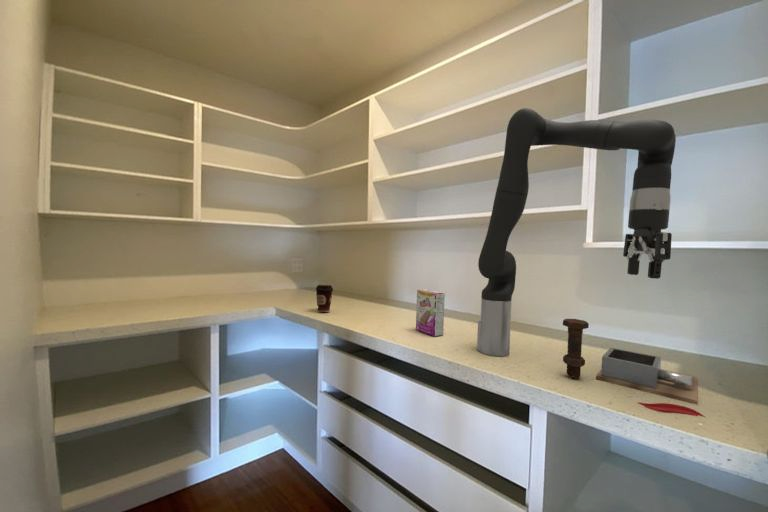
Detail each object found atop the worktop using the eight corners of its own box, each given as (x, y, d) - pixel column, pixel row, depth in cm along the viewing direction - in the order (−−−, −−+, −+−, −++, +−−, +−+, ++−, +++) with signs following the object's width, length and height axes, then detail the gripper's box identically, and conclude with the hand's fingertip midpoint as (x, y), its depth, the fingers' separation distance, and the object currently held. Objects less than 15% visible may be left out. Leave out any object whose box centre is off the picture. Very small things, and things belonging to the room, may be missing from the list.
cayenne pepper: (634, 407, 71) (634, 398, 71) (635, 400, 74) (635, 391, 74) (712, 427, 63) (712, 418, 63) (709, 418, 66) (709, 409, 66)
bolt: (585, 376, 86) (587, 320, 86) (587, 383, 82) (589, 323, 82) (560, 372, 89) (562, 317, 89) (560, 378, 85) (563, 320, 84)
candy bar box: (414, 330, 130) (416, 289, 130) (424, 329, 133) (425, 289, 133) (434, 337, 121) (435, 293, 121) (443, 335, 124) (445, 292, 124)
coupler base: (595, 379, 85) (595, 375, 84) (610, 361, 99) (610, 358, 99) (697, 405, 71) (697, 400, 71) (696, 380, 86) (696, 376, 86)
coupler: (601, 375, 85) (602, 356, 84) (613, 360, 98) (614, 343, 97) (691, 397, 73) (692, 375, 73) (691, 376, 86) (692, 357, 86)
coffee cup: (323, 313, 158) (324, 286, 158) (311, 311, 163) (312, 285, 163) (335, 310, 166) (336, 285, 165) (323, 308, 170) (324, 283, 170)
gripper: (616, 211, 86) (610, 272, 86) (649, 205, 72) (642, 278, 72) (648, 212, 84) (642, 274, 85) (688, 206, 70) (681, 280, 71)
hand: (642, 276), depth 79 cm, fingers open, 8 cm apart
